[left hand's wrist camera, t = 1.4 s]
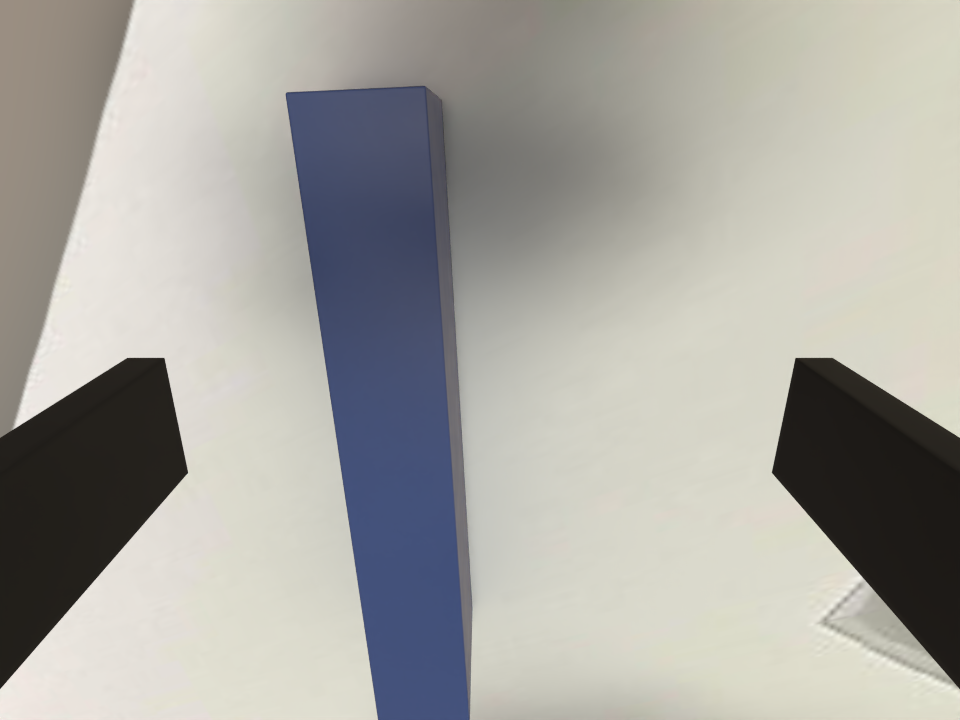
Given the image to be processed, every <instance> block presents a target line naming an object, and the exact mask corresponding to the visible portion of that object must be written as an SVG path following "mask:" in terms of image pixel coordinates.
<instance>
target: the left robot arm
mask: <svg viewBox="0 0 960 720" xmlns="http://www.w3.org/2000/svg"><path fill="white" fill-rule="evenodd" d="M187 473H188V470H187V465H186V460H185V456H184V451H183V446H182V441H181V436H180V431H179V427H178V422H177V417H176V412H175V407H174V402H173V397H172V393H171V388H170V383H169V378H168V373H167V368H166V364H165V359H164V358H127V359H125V360H124V361H122V362H120V363H119V364H117V365H116V366H114V367H112V368H111V369H109V370H108V371H106V372H104V373H103V374H101V375H100V376H98V377H96V378H95V379H93V380H92V381H90V382H88V383H87V384H85V385H84V386H82V387H81V388H79V389H77V390H76V391H74V392H73V393H71V394H69V395H68V396H66V397H65V398H63V399H61V400H60V401H58V402H57V403H55V404H53V405H52V406H50V407H49V408H47V409H46V410H44V411H42V412H41V413H39V414H38V415H36V416H34V417H33V418H31V419H30V420H28V421H26V422H25V423H23V424H22V425H20V426H18V427H17V428H15V429H14V430H12V431H10V432H9V433H7V434H6V435H4V436H3V437H1V438H0V689H1V687H2V686H3V685H4V684H5V683H6V682H7V681H8V679H9V678H10V677H11V676H12V675H13V674H14V672H15V671H16V670H17V669H18V668H19V667H20V666H21V664H22V663H23V662H24V661H25V660H26V659H27V658H28V656H29V655H30V654H31V653H32V652H33V651H34V649H35V648H36V647H37V646H38V645H39V644H40V643H41V641H42V640H43V639H44V638H45V637H46V636H47V634H48V633H49V632H50V631H51V630H52V629H53V628H54V626H55V625H56V624H57V623H58V622H59V621H60V620H61V618H62V617H63V616H64V615H65V614H66V613H67V611H68V610H69V609H70V608H71V607H72V606H73V605H74V603H75V602H76V601H77V600H78V599H79V598H80V597H81V595H82V594H83V593H84V592H85V591H86V590H87V588H88V587H89V586H90V585H91V584H92V583H93V582H94V580H95V579H96V578H97V577H98V576H99V575H100V573H101V572H102V571H103V570H104V569H105V568H106V567H107V565H108V564H109V563H110V562H111V561H112V560H113V559H114V557H115V556H116V555H117V554H118V553H119V552H120V550H121V549H122V548H123V547H124V546H125V545H126V544H127V542H128V541H129V540H130V539H131V538H132V537H133V535H134V534H135V533H136V532H137V531H138V530H139V529H140V527H141V526H142V525H143V524H144V523H145V522H146V521H147V519H148V518H149V517H150V516H151V515H152V514H153V512H154V511H155V510H156V509H157V508H158V507H159V506H160V504H161V503H162V502H163V501H164V500H165V499H166V498H167V496H168V495H169V494H170V493H171V492H172V491H173V489H174V488H175V487H176V486H177V485H178V484H179V483H180V481H181V480H182V479H183V478H184V477H185V476H186V474H187ZM772 473H773V474H774V476H775V477H776V478H777V479H778V480H779V481H780V483H781V484H782V485H783V486H784V487H785V488H786V489H787V491H788V492H789V493H790V494H791V495H792V496H793V498H794V499H795V500H796V501H797V502H798V503H799V504H800V506H801V507H802V508H803V509H804V510H805V511H806V512H807V514H808V515H809V516H810V517H811V518H812V519H813V521H814V522H815V523H816V524H817V525H818V526H819V527H820V529H821V530H822V531H823V532H824V533H825V534H826V535H827V537H828V538H829V539H830V540H831V541H832V542H833V544H834V545H835V546H836V547H837V548H838V549H839V550H840V552H841V553H842V554H843V555H844V556H845V557H846V559H847V560H848V561H849V562H850V563H851V564H852V565H853V567H854V568H855V569H856V570H857V571H858V572H859V573H860V575H861V576H862V577H863V578H864V579H865V580H866V582H867V583H868V584H869V585H870V586H871V587H872V588H873V590H874V591H875V592H876V593H877V594H878V595H879V597H880V598H881V599H882V600H883V601H884V602H885V603H886V605H887V606H888V607H889V608H890V609H891V610H892V611H893V613H894V614H895V615H896V616H897V617H898V618H899V620H900V621H901V622H902V623H903V624H904V625H905V626H906V628H907V629H908V630H909V631H910V632H911V633H912V635H913V636H914V637H915V638H916V639H917V640H918V641H919V643H920V644H921V645H922V646H923V647H924V648H925V649H926V651H927V652H928V653H929V654H930V655H931V656H932V658H933V659H934V660H935V661H936V662H937V663H938V664H939V666H940V667H941V668H942V669H943V670H944V671H945V672H946V674H947V675H948V676H949V677H950V678H951V679H952V681H953V682H954V683H955V684H956V685H957V686H958V687H959V689H960V438H959V437H957V436H956V435H954V434H953V433H951V432H950V431H948V430H946V429H945V428H943V427H942V426H940V425H938V424H937V423H935V422H934V421H932V420H930V419H929V418H927V417H926V416H924V415H922V414H921V413H919V412H918V411H916V410H914V409H913V408H911V407H910V406H908V405H907V404H905V403H903V402H902V401H900V400H899V399H897V398H895V397H894V396H892V395H891V394H889V393H887V392H886V391H884V390H883V389H881V388H879V387H878V386H876V385H875V384H873V383H872V382H870V381H868V380H867V379H865V378H864V377H862V376H860V375H859V374H857V373H856V372H854V371H852V370H851V369H849V368H848V367H846V366H844V365H843V364H841V363H840V362H838V361H836V360H835V359H833V358H796V359H795V364H794V368H793V373H792V378H791V383H790V388H789V393H788V397H787V402H786V407H785V412H784V417H783V422H782V427H781V431H780V436H779V441H778V446H777V451H776V456H775V460H774V465H773V470H772Z"/></svg>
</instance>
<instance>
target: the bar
mask: <svg viewBox="0 0 960 720" xmlns="http://www.w3.org/2000/svg"><path fill="white" fill-rule="evenodd" d="M286 100H287V106H288V113H289V120H290V127H291V133H292V140H293V147H294V154H295V161H296V167H297V174H298V181H299V188H300V194H301V201H302V208H303V215H304V221H305V228H306V235H307V242H308V248H309V255H310V262H311V269H312V275H313V282H314V289H315V296H316V303H317V309H318V316H319V323H320V330H321V336H322V343H323V350H324V357H325V363H326V370H327V377H328V384H329V390H330V397H331V404H332V411H333V417H334V424H335V431H336V438H337V445H338V451H339V458H340V465H341V472H342V478H343V485H344V492H345V499H346V505H347V512H348V519H349V526H350V532H351V539H352V546H353V553H354V559H355V566H356V573H357V580H358V586H359V593H360V600H361V607H362V614H363V620H364V627H365V634H366V641H367V647H368V654H369V661H370V668H371V674H372V681H373V688H374V695H375V701H376V708H377V715H378V720H470V686H471V643H472V596H471V579H470V563H469V546H468V530H467V513H466V497H465V480H464V463H463V447H462V430H461V414H460V397H459V381H458V364H457V348H456V331H455V314H454V298H453V281H452V265H451V248H450V232H449V215H448V199H447V182H446V166H445V149H444V132H443V116H442V100H441V99H440V98H439V97H438V96H436V95H435V94H434V93H433V92H431V91H430V90H429V89H428V88H427V87H425V86H412V87H391V88H370V89H349V90H328V91H306V92H287V93H286Z"/></svg>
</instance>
